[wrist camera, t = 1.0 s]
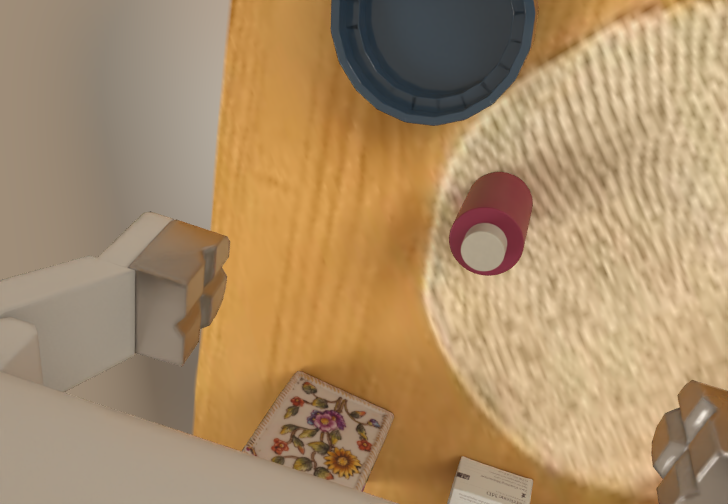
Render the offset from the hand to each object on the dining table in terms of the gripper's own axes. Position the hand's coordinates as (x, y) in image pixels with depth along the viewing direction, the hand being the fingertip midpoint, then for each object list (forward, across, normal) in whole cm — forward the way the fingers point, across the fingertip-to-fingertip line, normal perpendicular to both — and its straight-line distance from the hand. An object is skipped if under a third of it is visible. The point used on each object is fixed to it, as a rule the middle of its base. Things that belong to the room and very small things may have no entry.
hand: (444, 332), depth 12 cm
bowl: (+46, +5, +7) cm, 47 cm away
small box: (+39, -14, +51) cm, 66 cm away
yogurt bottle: (+44, -5, +20) cm, 48 cm away
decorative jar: (+40, +4, +51) cm, 65 cm away
